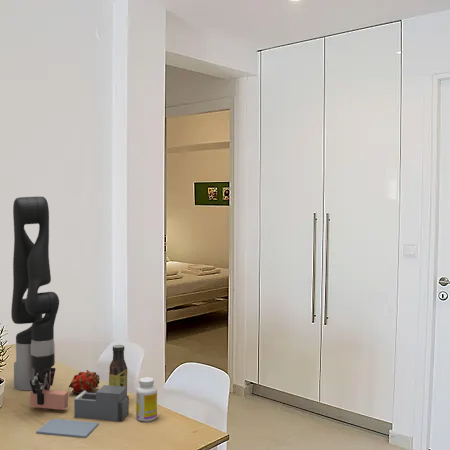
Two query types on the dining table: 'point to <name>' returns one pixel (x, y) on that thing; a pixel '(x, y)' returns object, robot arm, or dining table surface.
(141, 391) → the supplement bottle
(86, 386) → the dragon fruit
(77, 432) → the rubber mat
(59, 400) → the pink rectangular block
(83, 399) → the dispenser
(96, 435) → the dining table surface
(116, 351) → the sauce bottle
